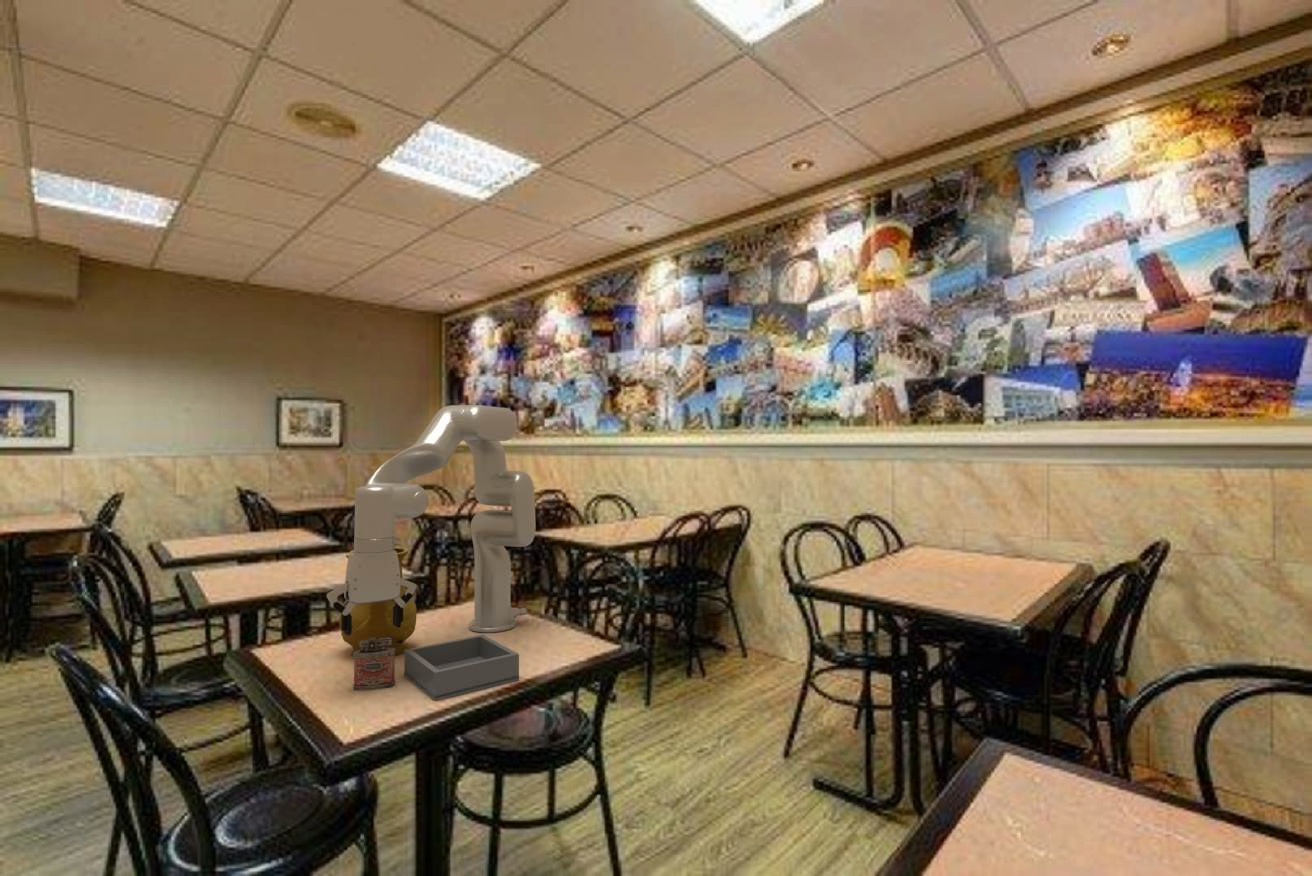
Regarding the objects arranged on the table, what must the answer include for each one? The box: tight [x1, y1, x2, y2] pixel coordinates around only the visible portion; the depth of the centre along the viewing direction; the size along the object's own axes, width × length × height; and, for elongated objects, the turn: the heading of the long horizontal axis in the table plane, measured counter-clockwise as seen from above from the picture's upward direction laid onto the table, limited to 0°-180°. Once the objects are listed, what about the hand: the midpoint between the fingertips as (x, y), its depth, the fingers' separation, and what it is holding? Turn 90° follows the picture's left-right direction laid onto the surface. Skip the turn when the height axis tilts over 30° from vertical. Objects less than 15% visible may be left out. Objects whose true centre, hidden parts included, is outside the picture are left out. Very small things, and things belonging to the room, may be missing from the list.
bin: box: [403, 634, 520, 702], centre depth 141 cm, size 18×18×6 cm
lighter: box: [352, 637, 396, 692], centre depth 136 cm, size 8×3×10 cm, turn 105°
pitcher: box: [338, 546, 417, 657], centre depth 158 cm, size 17×19×25 cm
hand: (372, 629), depth 135 cm, fingers open, 9 cm apart
